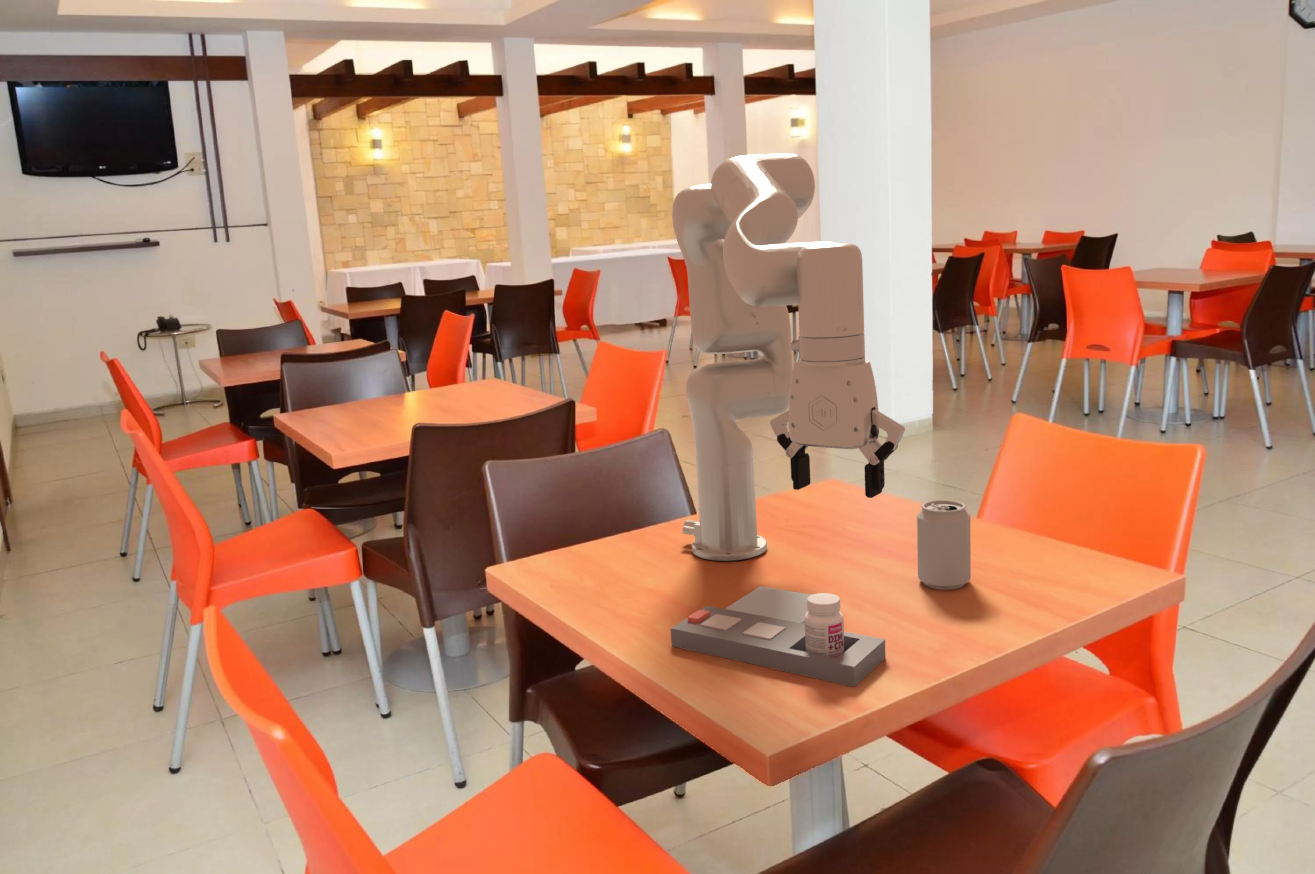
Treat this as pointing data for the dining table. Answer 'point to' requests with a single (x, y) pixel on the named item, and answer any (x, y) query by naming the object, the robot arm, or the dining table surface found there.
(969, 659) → the dining table surface
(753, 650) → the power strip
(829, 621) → the pill bottle
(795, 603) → the mat
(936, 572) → the can
